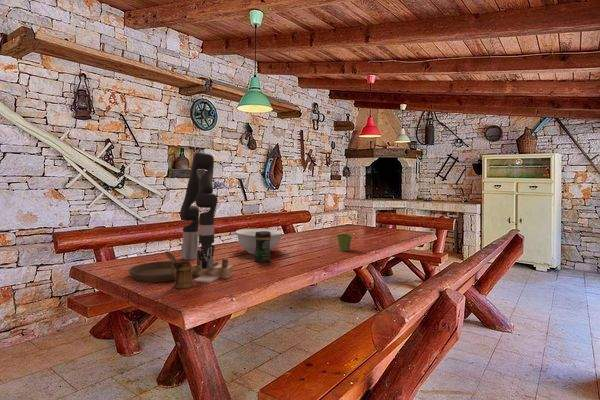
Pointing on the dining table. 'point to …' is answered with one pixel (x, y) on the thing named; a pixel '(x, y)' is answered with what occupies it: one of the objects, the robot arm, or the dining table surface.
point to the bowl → (249, 241)
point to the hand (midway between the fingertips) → (206, 267)
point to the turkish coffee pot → (181, 273)
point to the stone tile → (206, 279)
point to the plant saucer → (153, 271)
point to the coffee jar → (262, 246)
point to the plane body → (213, 269)
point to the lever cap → (208, 263)
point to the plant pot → (344, 241)
